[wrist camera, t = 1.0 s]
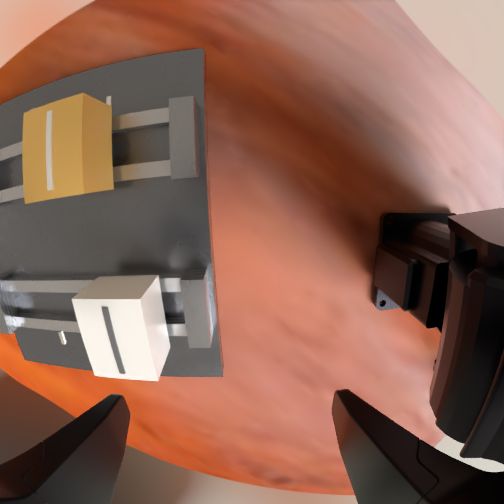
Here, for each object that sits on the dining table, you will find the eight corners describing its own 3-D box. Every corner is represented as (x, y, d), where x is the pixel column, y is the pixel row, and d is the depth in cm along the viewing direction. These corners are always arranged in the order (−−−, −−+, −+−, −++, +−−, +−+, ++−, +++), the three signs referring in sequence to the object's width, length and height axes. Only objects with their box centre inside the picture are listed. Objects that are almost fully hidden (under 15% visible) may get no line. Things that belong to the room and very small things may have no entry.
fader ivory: (164, 267, 16) (139, 299, 12) (174, 335, 17) (157, 382, 13) (107, 269, 16) (70, 299, 12) (121, 334, 17) (94, 376, 13)
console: (205, 56, 14) (199, 34, 11) (223, 366, 19) (221, 394, 16) (-4, 113, 14) (-29, 109, 11) (31, 352, 19) (14, 370, 16)
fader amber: (120, 111, 14) (82, 92, 9) (123, 188, 15) (83, 194, 10) (68, 123, 14) (22, 112, 9) (70, 195, 15) (23, 204, 10)
